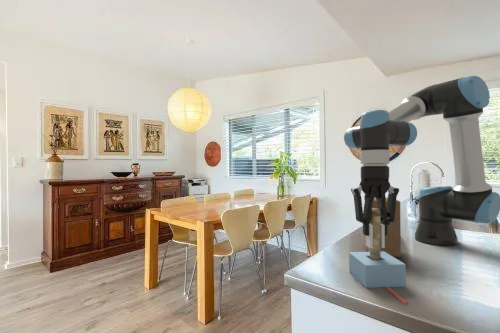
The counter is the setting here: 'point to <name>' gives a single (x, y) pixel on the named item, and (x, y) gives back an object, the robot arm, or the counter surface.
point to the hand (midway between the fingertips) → (375, 246)
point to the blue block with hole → (377, 270)
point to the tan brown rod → (375, 235)
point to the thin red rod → (396, 295)
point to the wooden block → (391, 233)
